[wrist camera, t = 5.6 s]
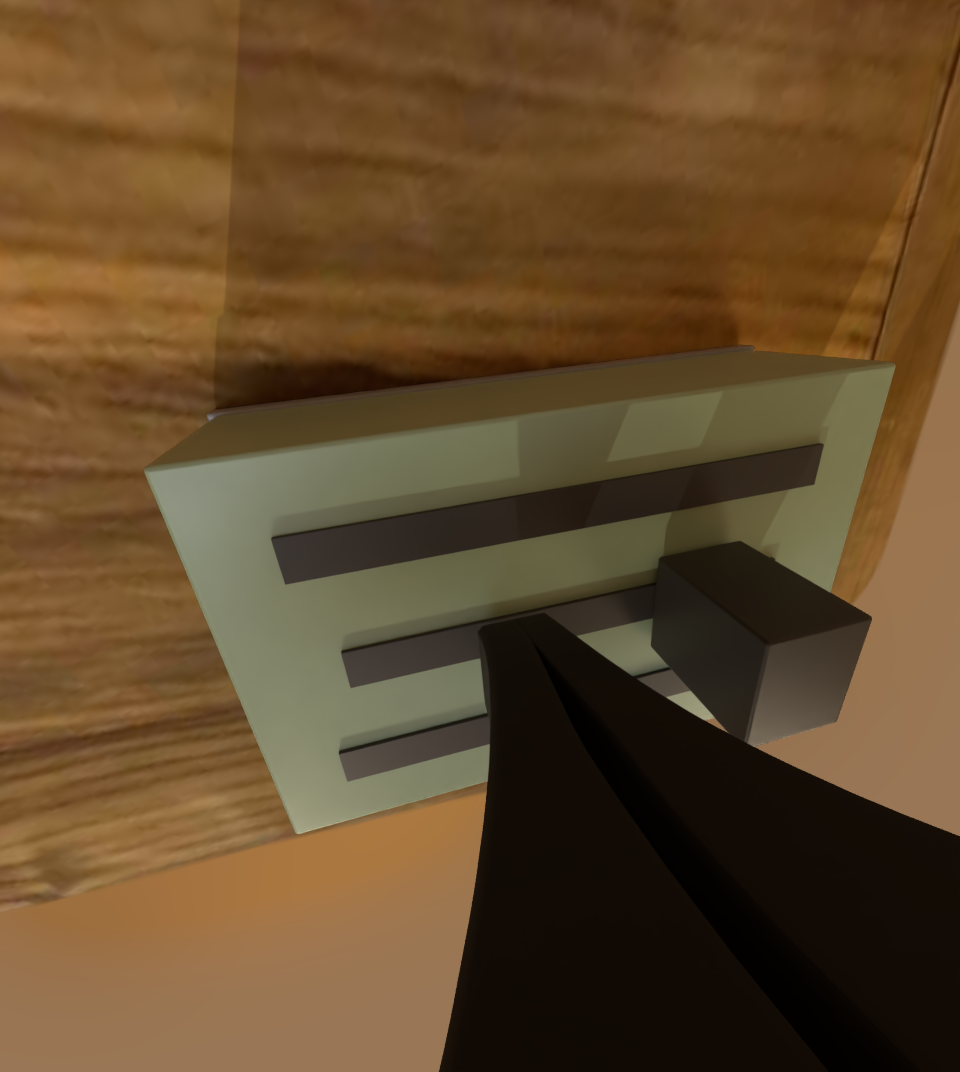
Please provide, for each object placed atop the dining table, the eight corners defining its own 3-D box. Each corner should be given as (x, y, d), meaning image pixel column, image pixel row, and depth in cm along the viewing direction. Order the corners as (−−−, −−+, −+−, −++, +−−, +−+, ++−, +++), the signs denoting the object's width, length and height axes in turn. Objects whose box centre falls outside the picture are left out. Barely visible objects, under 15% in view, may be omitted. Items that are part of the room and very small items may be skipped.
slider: (724, 628, 11) (838, 723, 9) (649, 646, 11) (742, 751, 8) (740, 539, 10) (875, 616, 8) (657, 556, 10) (768, 643, 7)
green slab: (702, 610, 17) (807, 698, 13) (308, 701, 15) (290, 845, 11) (742, 344, 13) (910, 356, 9) (210, 409, 11) (126, 464, 7)
